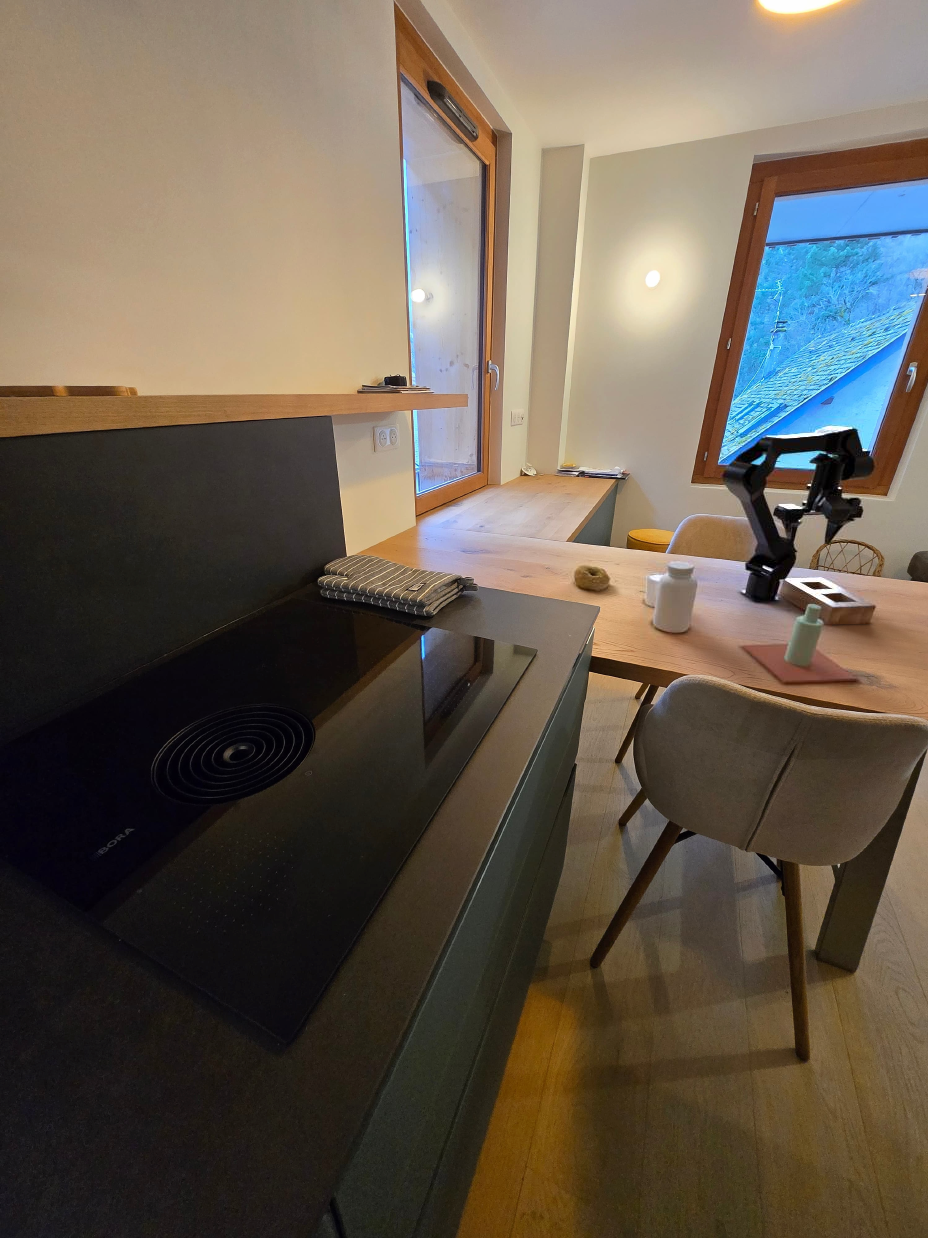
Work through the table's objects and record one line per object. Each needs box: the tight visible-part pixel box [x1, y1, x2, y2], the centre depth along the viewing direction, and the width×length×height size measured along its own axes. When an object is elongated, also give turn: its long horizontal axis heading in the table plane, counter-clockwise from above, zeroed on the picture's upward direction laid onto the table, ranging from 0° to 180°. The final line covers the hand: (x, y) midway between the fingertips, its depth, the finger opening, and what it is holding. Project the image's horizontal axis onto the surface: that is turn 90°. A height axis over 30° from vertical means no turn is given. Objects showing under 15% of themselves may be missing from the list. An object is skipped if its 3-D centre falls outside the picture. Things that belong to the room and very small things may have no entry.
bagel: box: [573, 564, 611, 592], centre depth 137 cm, size 10×11×5 cm
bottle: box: [784, 604, 825, 666], centre depth 96 cm, size 4×4×12 cm
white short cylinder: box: [644, 572, 665, 608], centre depth 125 cm, size 7×7×7 cm
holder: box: [778, 577, 877, 626], centre depth 121 cm, size 10×18×4 cm, turn 2°
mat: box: [742, 643, 858, 684], centre depth 98 cm, size 14×14×1 cm
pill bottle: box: [652, 560, 698, 634], centre depth 111 cm, size 8×8×15 cm
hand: (808, 544), depth 125 cm, fingers open, 9 cm apart
